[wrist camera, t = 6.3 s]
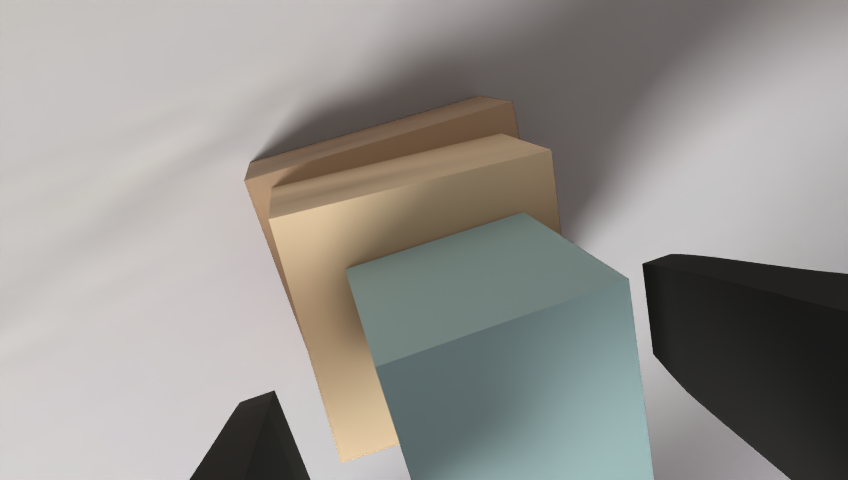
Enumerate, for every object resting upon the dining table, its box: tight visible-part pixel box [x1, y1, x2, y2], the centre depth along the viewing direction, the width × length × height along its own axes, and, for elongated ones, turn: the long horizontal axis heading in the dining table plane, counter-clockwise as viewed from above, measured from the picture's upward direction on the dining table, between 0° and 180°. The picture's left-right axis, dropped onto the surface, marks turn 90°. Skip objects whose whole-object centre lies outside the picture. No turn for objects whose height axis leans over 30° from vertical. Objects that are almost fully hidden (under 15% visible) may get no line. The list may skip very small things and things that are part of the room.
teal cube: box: [345, 212, 654, 480], centre depth 11 cm, size 4×4×4 cm
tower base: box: [244, 96, 520, 348], centre depth 17 cm, size 7×7×3 cm
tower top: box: [269, 133, 561, 463], centre depth 14 cm, size 6×6×3 cm
